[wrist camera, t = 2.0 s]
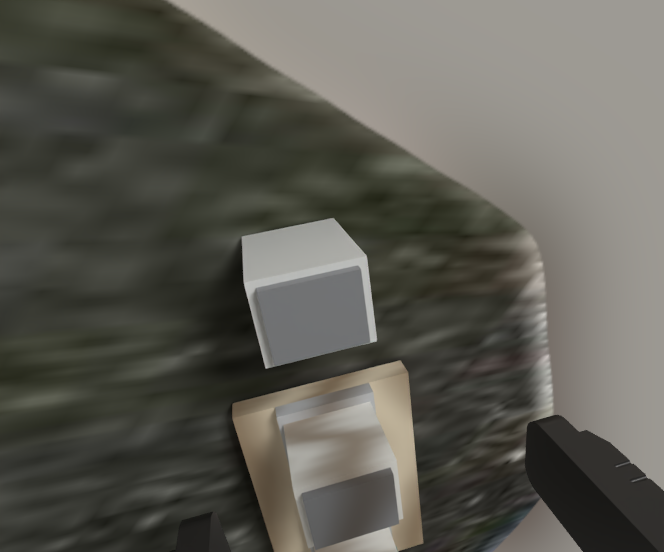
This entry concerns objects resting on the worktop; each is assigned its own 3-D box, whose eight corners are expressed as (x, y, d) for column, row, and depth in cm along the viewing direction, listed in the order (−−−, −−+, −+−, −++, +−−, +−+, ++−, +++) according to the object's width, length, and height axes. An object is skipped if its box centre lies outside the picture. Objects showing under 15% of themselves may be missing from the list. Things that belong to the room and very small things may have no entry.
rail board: (283, 569, 35) (295, 688, 28) (232, 403, 28) (231, 506, 21) (416, 527, 37) (460, 629, 30) (400, 360, 30) (452, 441, 22)
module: (258, 304, 26) (266, 374, 19) (241, 236, 24) (244, 287, 17) (343, 285, 27) (380, 346, 20) (333, 217, 25) (369, 259, 18)
